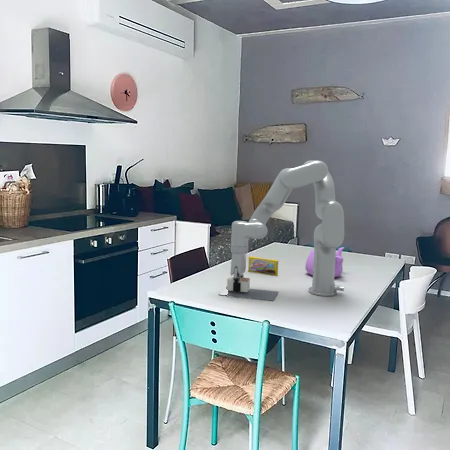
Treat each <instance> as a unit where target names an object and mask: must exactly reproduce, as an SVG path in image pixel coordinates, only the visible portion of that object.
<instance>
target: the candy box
mask: <svg viewBox="0 0 450 450" xmlns="http://www.w3.org/2000/svg"><path fill="white" fill-rule="evenodd" d="M247 270H248V272H250V273H255V274H260V275H261V274H262V275H267V276H274V277H275V276H276V277H277V276H279V260H278V259H273V258H266V257H258V256H251V255H250V256H248V269H247Z"/></svg>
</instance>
